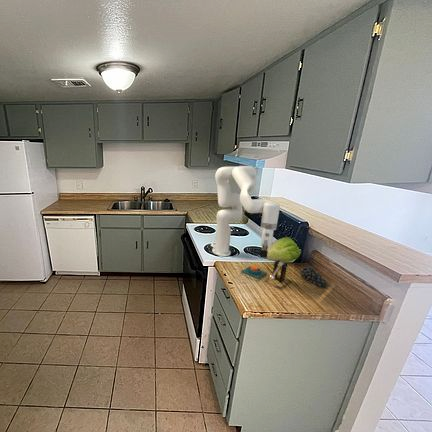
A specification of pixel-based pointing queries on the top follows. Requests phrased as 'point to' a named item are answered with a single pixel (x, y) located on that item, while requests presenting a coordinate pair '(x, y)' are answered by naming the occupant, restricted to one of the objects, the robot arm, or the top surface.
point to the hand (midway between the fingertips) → (263, 256)
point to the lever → (279, 266)
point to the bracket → (283, 271)
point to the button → (254, 268)
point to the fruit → (313, 276)
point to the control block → (253, 272)
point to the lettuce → (284, 250)
